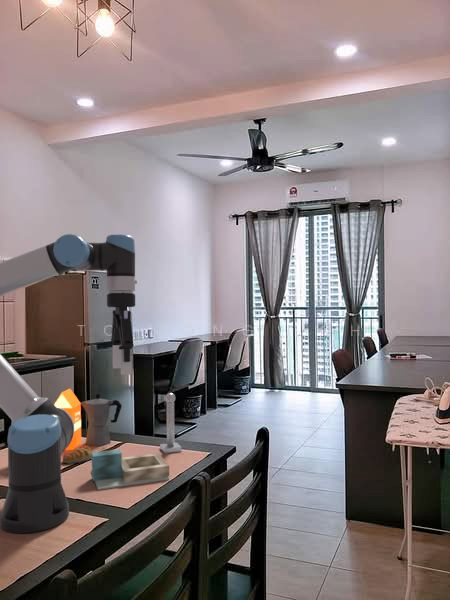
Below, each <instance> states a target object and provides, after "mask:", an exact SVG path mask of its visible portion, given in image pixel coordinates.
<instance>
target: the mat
mask: <svg viewBox="0 0 450 600" xmlns="http://www.w3.org/2000/svg"><path fill="white" fill-rule="evenodd" d="M153 466H154V465H153ZM145 467H146V466H145ZM138 468H139V467H138ZM90 472H91V473H92V469H91V471H90ZM169 480H170V476H166V477H159V478H152V479H145V480H138V481H131V482H124V481H123V479H122V477H120V478H113V479H106V480H98V481H94V482H95V485H96V488H97V491H102V490H107V489H108V490H110V489H114V488H123V487H128V486H135V485H143V484H149V483H155V482H162V481H163V482H165V481H169Z"/></svg>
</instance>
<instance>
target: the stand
mask: <svg viewBox="0 0 450 600" xmlns="http://www.w3.org/2000/svg"><path fill="white" fill-rule="evenodd" d="M164 400H165V402H166V443H160V444H159V445H160V446H159V448H160V450H161V451H162V452H163V453H164V454H171V453H179V452H182V451H183V450H182V448H183V447H182V446H181V445H180V444H179V442H176V441H175V401H176V394H174V393H172V392H168V393H167V394H165V397H164Z"/></svg>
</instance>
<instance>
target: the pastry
mask: <svg viewBox="0 0 450 600" xmlns="http://www.w3.org/2000/svg"><path fill="white" fill-rule="evenodd" d="M92 453H93V451H92V449H91V448H90V447H89V446H83V447H81V448H75V449H73V450H71V452H68V453H67V454H65V455H63V457H62V460H61V463H64V464H68V465H71V464H76V463H77V464H79V463H83V462H86V461H90V459H91V460H92Z"/></svg>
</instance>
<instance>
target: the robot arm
mask: <svg viewBox="0 0 450 600" xmlns="http://www.w3.org/2000/svg"><path fill="white" fill-rule="evenodd" d="M69 271H71V272H88V271H89V272H90V271H93V272H94V271H101V272H103V271H106V292H108V293H107V294H106V306H107V307H108V308H115V310H114V309H113V310H112V325H111V337H110V341H111V343H112V369H120V375H121V376H126V375H127V376H129V375H133V363H132V362H133V357H132V352H133V351H132V349H133V347H134V344H135V343H134V338H133V337H134V336H133V330H132V329H133V328H132V327H133V326H132V318H131V317H132V312H131V310H128V308H134V307H135V306H136V294H135V293H134V292H135V290H136V285H137V284H138V281H137V279H136V248H135V239H134V237H133V236H132V235H129V234H109V235H107V236H106V239H105V241H104V242H87V241H86V240H85V239H84V238H83V237H81V236H80V235H77V234H72V233H69V234H64V235H61V236H60V237H58V238H57V239H56V241H54V242H51V243H49V244H46V245H44V246H41V247H38V248H36V249H34V250H30V251H28V252H24V253H22V254H20V255H17V256H14V257H12V258H9V259H7V260H4V261H1V262H0V298H2V297H4V296H7V295H10V294H12V293H15V292H17V291H20V290H22V289H25V288H27V287H29V286H34V285H35V284H37V283H38V284H39V283H40V282H43V281H45V280H48V279H50V278H53V277H56V276H58V275H60V274H65V273H66V272H69ZM54 404H55V403H54V402H52V401H51V400H50V398H49V397H41V396H38V394H37V393H36V392H35V391H34V390H33V389H32V388H31V386H30V385H29V384H28V383H27V382H26V381H25V380H24V378H23V377H22V376H21V375H20V374H19V373H18V372H17V371H16V370H15V368H14V367H13V366H12V365H11V364H10V363H9V362H8V361H7V360H6V359H5V357H4V356H3V355H2V354H1V353H0V409H1V410H2V411H3V412H4V413H5V414H6V415H7V416H8V417H9V419H10V420H11V425H10V426H9V427H8V433H7V441H6V442H7V443H6V444H7V457H8V462H7V463H8V464H7V466H8V470H7V471H8V472H7V473H8V474H7V475H8V491H7V494H6V497H5V499H4V502H3V506H2V509H1V512H0V527H1V529H2V530H4V531H5V532H7V533H8V532H9V533H14V534H31V533H32V534H33V533H37V532H42V531H45V530H49V529H52V528H54V527H57V526H58V525H60V524H62V523H64V522H65V521H66V520H67V519H68V518H69V515H70V506H69V502H68V501H69V500H68V498H67V496H66V493H65V490H64V487H63V484H62V455H63V453H64V452H65V451H66V450H65V449H66V448H67V447H68V446H69V444H70V443H71V441H72V438H73V434H74V423H73V420H72V418H71V416H70V415H69V414H68V413H67V412H66V411H65V410H63V409H60V408H57V407H56V406H55V405H54Z"/></svg>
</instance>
